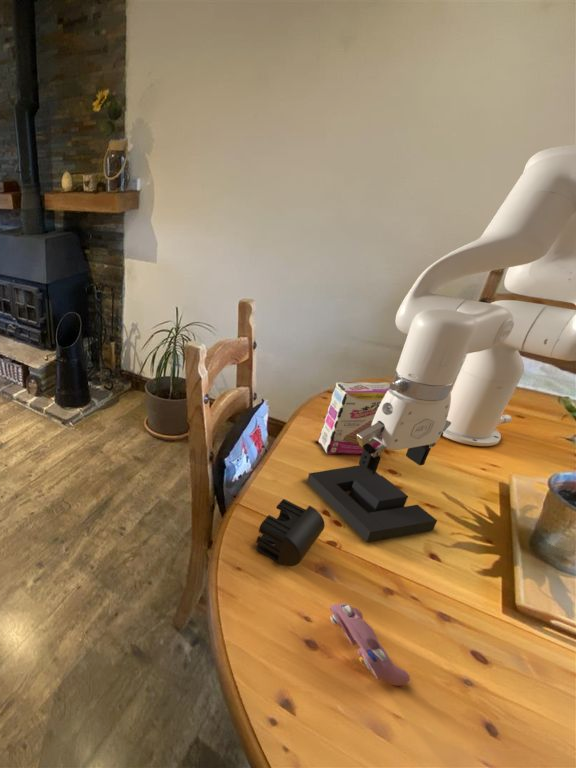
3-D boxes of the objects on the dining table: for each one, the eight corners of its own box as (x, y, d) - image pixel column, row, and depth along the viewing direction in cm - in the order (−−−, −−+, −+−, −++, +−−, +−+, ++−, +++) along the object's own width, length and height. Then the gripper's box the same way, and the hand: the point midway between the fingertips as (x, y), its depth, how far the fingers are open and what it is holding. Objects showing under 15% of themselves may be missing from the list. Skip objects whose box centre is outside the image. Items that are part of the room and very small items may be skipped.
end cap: (295, 576, 68) (303, 547, 65) (253, 550, 73) (259, 523, 70) (319, 542, 74) (329, 514, 70) (279, 520, 78) (286, 493, 75)
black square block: (375, 490, 84) (381, 475, 82) (401, 512, 78) (408, 496, 77) (348, 495, 83) (354, 479, 81) (373, 517, 78) (379, 501, 76)
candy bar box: (327, 455, 94) (345, 392, 86) (317, 442, 98) (334, 381, 91) (380, 456, 93) (403, 392, 85) (368, 442, 97) (389, 381, 90)
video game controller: (330, 624, 62) (319, 600, 59) (359, 612, 62) (350, 587, 58) (379, 698, 54) (370, 674, 50) (415, 685, 53) (407, 661, 50)
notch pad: (362, 473, 88) (366, 464, 87) (432, 530, 74) (437, 520, 73) (306, 482, 87) (309, 473, 86) (366, 542, 73) (370, 532, 72)
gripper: (392, 404, 65) (363, 486, 73) (490, 387, 66) (451, 470, 74) (355, 381, 71) (332, 460, 79) (445, 367, 73) (414, 445, 81)
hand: (390, 464), depth 77 cm, fingers open, 9 cm apart
